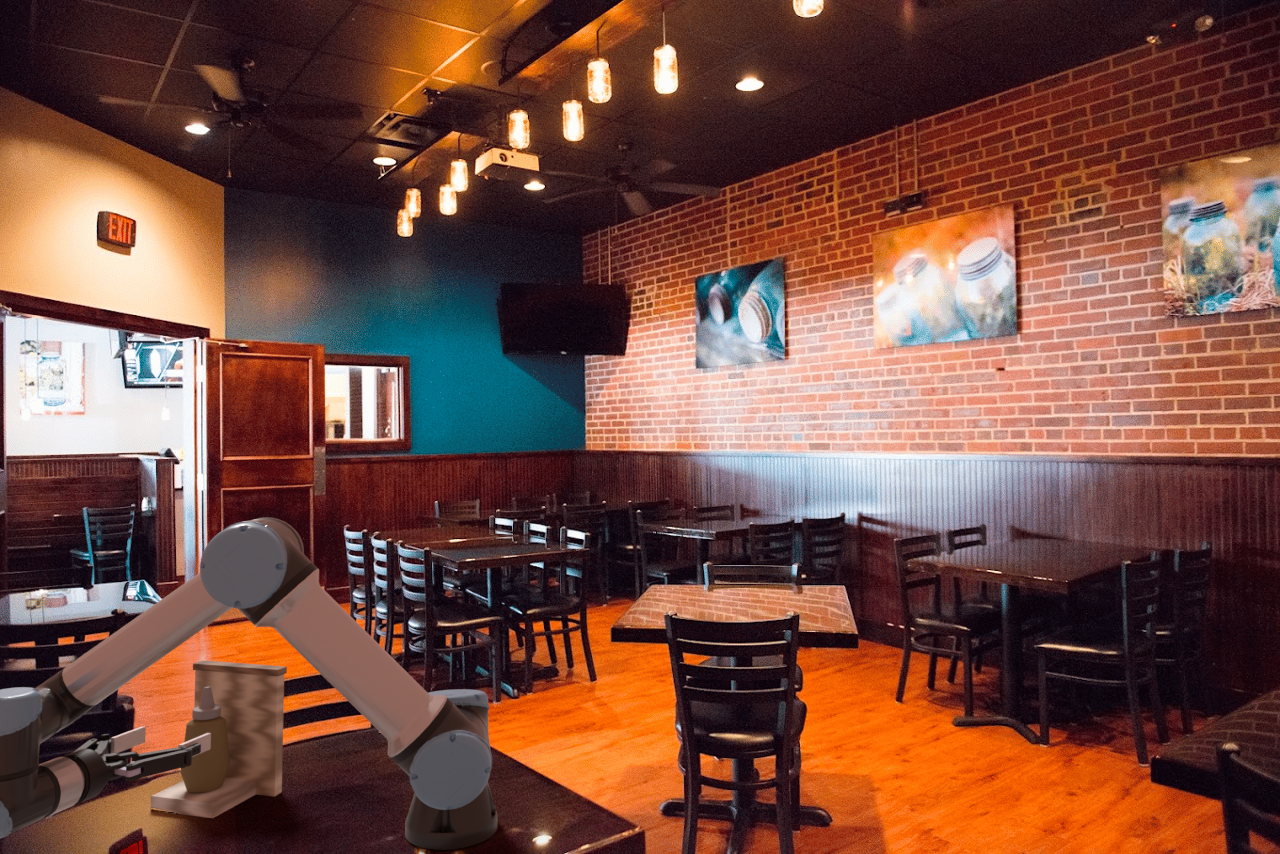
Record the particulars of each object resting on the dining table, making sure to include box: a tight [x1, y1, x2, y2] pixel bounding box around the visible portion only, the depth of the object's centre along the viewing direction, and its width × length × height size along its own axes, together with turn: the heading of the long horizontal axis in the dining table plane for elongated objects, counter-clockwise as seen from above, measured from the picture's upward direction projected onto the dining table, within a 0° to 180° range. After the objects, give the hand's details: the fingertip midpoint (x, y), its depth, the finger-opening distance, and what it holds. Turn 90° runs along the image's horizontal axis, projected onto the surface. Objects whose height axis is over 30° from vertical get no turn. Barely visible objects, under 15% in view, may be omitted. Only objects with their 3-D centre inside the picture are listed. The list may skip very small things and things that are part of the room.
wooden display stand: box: [150, 660, 288, 819], centre depth 157 cm, size 19×13×23 cm
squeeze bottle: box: [179, 687, 230, 793], centre depth 156 cm, size 8×8×18 cm
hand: (176, 737), depth 149 cm, fingers open, 13 cm apart
